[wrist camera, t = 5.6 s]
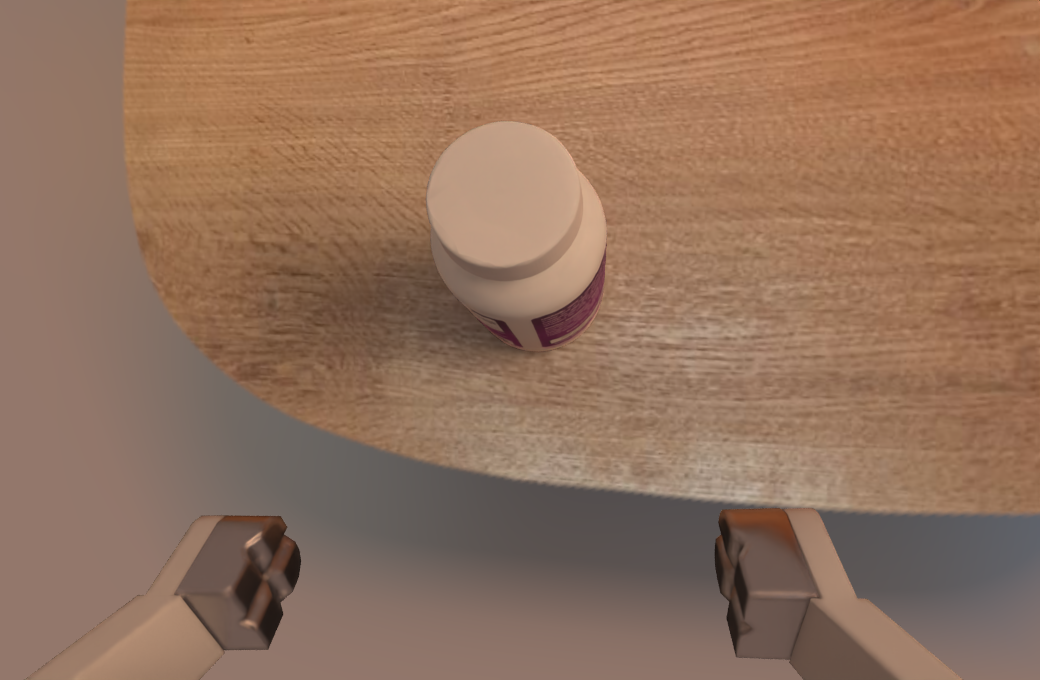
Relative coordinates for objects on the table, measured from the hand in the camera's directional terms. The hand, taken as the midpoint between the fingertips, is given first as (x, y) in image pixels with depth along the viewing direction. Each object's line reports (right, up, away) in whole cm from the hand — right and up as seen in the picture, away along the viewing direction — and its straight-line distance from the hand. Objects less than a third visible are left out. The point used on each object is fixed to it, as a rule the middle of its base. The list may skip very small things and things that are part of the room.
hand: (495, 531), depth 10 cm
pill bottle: (+1, +6, +13) cm, 14 cm away
